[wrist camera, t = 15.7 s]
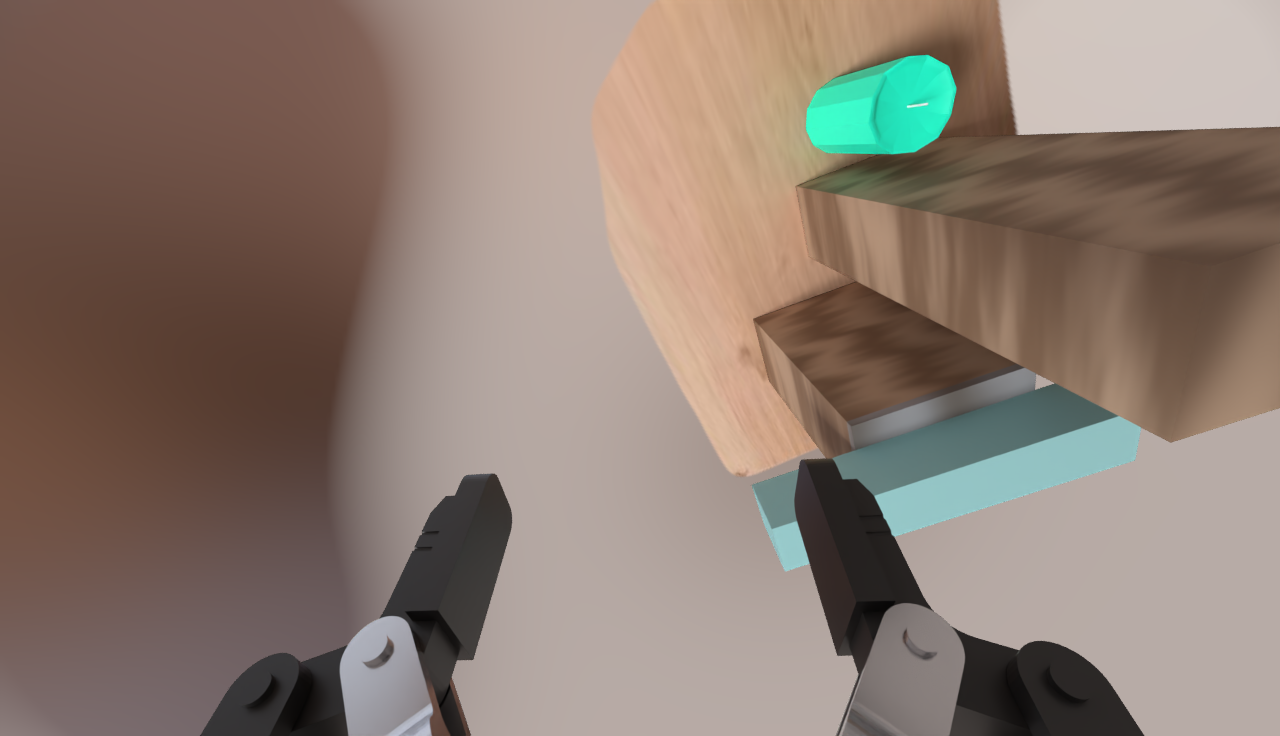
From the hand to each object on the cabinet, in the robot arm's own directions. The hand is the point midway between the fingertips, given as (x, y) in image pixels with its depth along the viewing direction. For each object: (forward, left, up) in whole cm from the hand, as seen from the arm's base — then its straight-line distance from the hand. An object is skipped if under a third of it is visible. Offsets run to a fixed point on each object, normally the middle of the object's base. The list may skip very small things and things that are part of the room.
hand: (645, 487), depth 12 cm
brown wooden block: (+6, +23, -35) cm, 42 cm away
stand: (-8, +23, -35) cm, 42 cm away
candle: (-14, +18, -35) cm, 42 cm away
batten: (+7, +21, -14) cm, 27 cm away
